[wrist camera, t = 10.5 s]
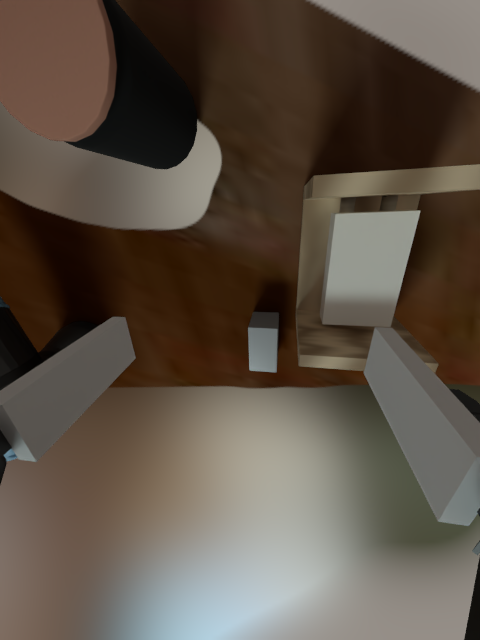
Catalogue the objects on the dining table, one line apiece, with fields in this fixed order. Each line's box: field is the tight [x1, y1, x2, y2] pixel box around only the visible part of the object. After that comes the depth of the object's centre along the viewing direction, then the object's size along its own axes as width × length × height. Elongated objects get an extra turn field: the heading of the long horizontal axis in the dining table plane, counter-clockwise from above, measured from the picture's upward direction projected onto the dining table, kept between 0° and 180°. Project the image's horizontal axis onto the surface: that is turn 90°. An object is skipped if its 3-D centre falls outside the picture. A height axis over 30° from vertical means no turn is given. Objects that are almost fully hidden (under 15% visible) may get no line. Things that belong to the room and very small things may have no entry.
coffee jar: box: [0, 0, 197, 169], centre depth 24 cm, size 11×11×18 cm
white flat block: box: [320, 210, 420, 327], centre depth 28 cm, size 8×13×3 cm, turn 2°
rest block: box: [248, 312, 279, 372], centre depth 40 cm, size 4×8×6 cm, turn 3°
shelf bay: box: [296, 164, 480, 374], centre depth 29 cm, size 14×19×14 cm
